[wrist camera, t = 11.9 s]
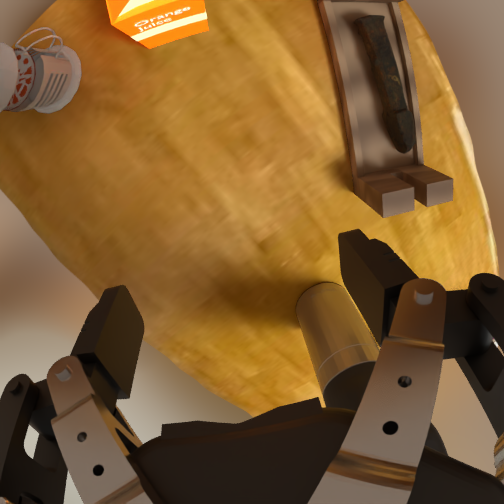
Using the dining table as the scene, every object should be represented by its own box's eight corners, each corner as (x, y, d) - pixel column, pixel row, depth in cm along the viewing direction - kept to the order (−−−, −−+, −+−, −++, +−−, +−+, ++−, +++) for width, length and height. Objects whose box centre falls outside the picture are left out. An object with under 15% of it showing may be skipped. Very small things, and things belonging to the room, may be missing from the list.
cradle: (417, 180, 42) (452, 200, 34) (354, 193, 42) (383, 218, 34) (385, -13, 27) (419, -29, 19) (312, -15, 27) (336, -38, 20)
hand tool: (347, 20, 29) (362, 12, 25) (374, 18, 29) (390, 12, 25) (379, 153, 38) (396, 161, 34) (403, 148, 38) (421, 155, 34)
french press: (13, 85, 28) (-122, 112, 6) (65, 22, 26) (-65, -13, 4) (48, 127, 33) (-89, 184, 11) (105, 63, 30) (-30, 44, 8)
